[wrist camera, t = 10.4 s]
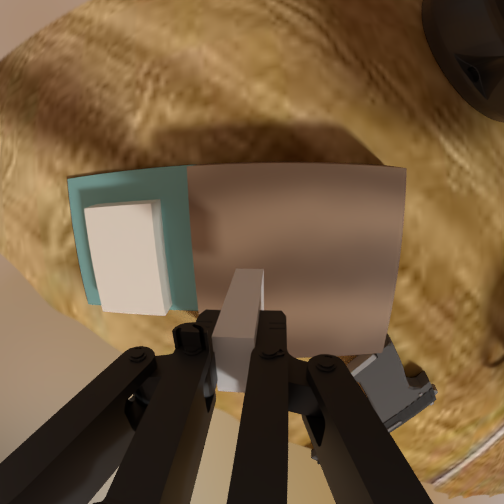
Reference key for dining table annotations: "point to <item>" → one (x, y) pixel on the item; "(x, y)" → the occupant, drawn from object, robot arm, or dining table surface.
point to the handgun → (390, 387)
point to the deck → (303, 245)
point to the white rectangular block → (129, 256)
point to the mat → (173, 218)
